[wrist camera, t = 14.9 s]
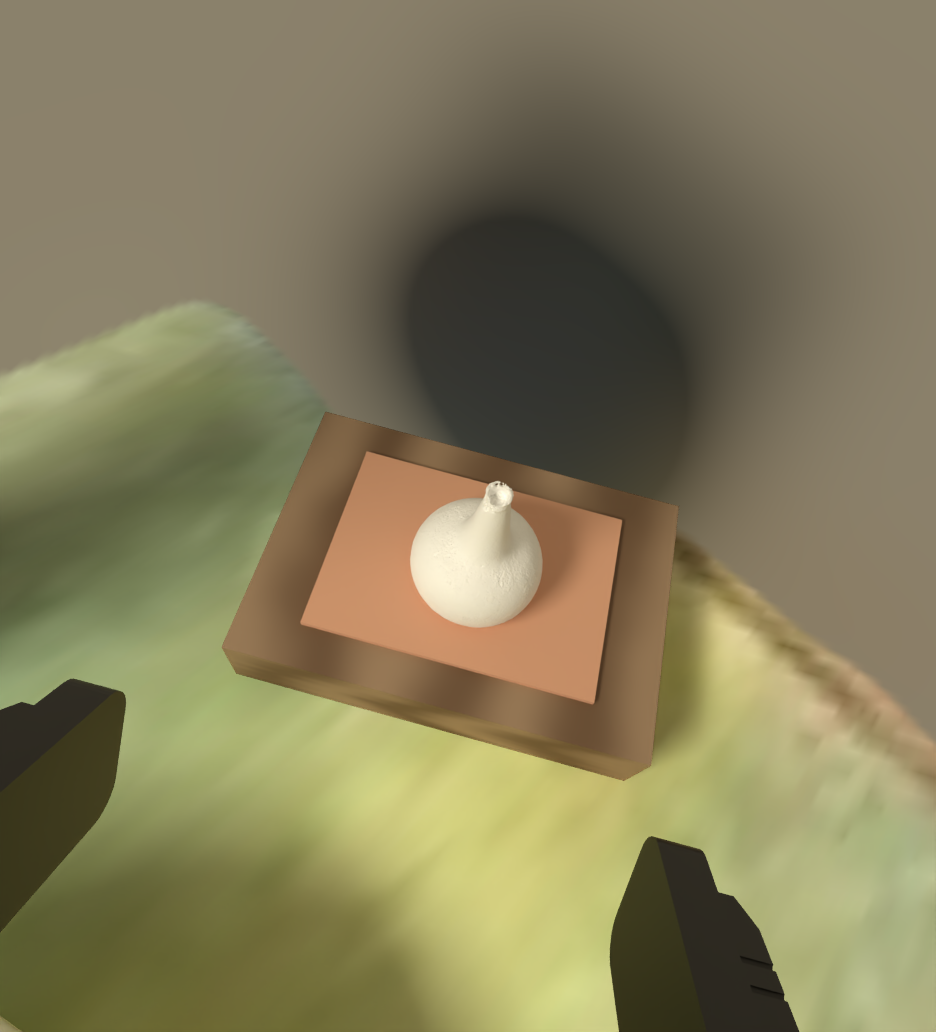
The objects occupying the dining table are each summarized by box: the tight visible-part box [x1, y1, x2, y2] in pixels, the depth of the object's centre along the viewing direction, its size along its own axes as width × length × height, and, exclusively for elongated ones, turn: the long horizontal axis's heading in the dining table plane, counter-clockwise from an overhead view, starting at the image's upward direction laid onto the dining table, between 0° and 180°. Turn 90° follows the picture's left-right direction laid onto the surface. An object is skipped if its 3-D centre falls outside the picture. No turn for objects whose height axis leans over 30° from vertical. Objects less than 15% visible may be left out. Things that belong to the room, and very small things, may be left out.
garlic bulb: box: [410, 481, 543, 628], centre depth 32 cm, size 6×6×8 cm
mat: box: [300, 452, 622, 705], centre depth 36 cm, size 14×10×1 cm
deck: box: [222, 412, 679, 781], centre depth 37 cm, size 20×14×4 cm
